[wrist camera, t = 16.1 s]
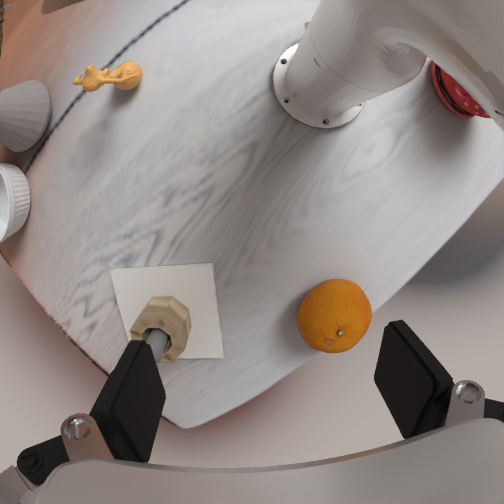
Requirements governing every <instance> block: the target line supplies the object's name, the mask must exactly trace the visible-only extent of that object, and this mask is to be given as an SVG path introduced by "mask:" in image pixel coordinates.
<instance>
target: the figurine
mask: <svg viewBox="0 0 504 504" xmlns="http://www.w3.org/2000/svg"><path fill="white" fill-rule="evenodd" d="M82 75H83V74H81V75H79V76H78V77H77V78H76V79H75V80H74V82H73V84H74V85H83V89H84V90H85V91H87V92H93V91H95V90H97V89H98V88H100V87H101V86H103V85H104V84H106V83H114V84H115V86H116V87H117V88H119V89H121V90H130V89H132V88H134V87H136V86H137V85H138V84H139V83H140V81H141V79H142V69H141V67H140V66H139V65H138V64H136V63H134V62H125V63H122V64H121V65H119V66H118V67H117V68H116V69H115V70H113V71H111V72H109V70H108V69H107V68H105V69H104V70H103V71H100V70H96V68H95V66H93V65H92V66H91V65H90V66H88V67H87V68H86V71H85V76H84V77H83V78H82V79H79V78H81V76H82Z"/></svg>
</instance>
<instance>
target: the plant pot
mask: <svg viewBox="0 0 504 504" xmlns="http://www.w3.org/2000/svg"><path fill="white" fill-rule="evenodd" d="M431 74H432V80H433V83H434V86H435V89H436V91H437V93H438V95H439V97H440V98H441V100H442V101H443V103H444V104H445V105H446V106H447V107H448V108H449V109H450V110H451V111H453V112H454V113H455V114H457V115H459V116H461V117H465V118H471V117H473V116H475V115H477V116H480V117H485V118H491V117H490V116H489V115H488V114H487V112H486V111H485V110H484V109H483V108H482V107H481V106H480V105H479V103H478V102H477V101H476V100H475V99H474V98H473V97H472V96H471V95H470V94H469V93H468V92H467V91H466V90H465V89H464V88H463V87H462V86H461V85H460V84H459V83H458V82H457V81H456V80H455V79H454V78H453V77H452V76H451V75H449V74H447V73H446V72H445V71H444V70H443V69H442V68H441V67H439V66H438V65H437V64H436V63H435V62H433V61H432V65H431Z"/></svg>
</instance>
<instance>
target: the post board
mask: <svg viewBox="0 0 504 504" xmlns="http://www.w3.org/2000/svg"><path fill="white" fill-rule="evenodd" d="M110 274H111V278H112V283H113V287H114V291H115V295H116V299H117V303H118V307H119V310H120V314H121V318H122V321H123V325H124V328H125V331H126V335H127V338H128V341H129V342H130V340H132V338H131V335H130V329H131V327H132V326H133V324H134V322H135V321H136V319H137V318H138V316H139V314H140V313H141V311H142V310H143V308H144V307H145V306H146V305H147V303H148V302H149V301H150V300H151V298H152V297H153V296H173V297H175V298H176V299H177V300H178V301H180V302H181V303H182V304H183V305H185V306H186V307H187V308H189V313H190V319H191V325H192V327H191V330H190V333H189V337H188V340H187V344H186V347H185V351H184V352H183V353H182V354H180V355H179V356H178V357H177V358H178V359H193V358H224V346H223V339H222V331H221V324H220V316H219V308H218V300H217V291H216V283H215V274H214V265H213V263H203V264H186V265H169V266H152V267H134V268H116V269H113V270H112V271H111V272H110ZM168 337H169V335H168V334H167V333H166V332H164V331H163V330H162V329H160V328H153V329H152V331H151V333H150V335H149V337H148V339H147V341H146V343H147V344H150V345H151V348H152V352H153V355H154V359H155V362H158V361H159V360H160V358H161V356H162V353H163V350H164V348H165V345H166V343H167V340H168Z"/></svg>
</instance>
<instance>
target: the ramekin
mask: <svg viewBox="0 0 504 504" xmlns="http://www.w3.org/2000/svg"><path fill="white" fill-rule="evenodd" d="M30 202H31V195H30V188H29V184H28V181H27V179H26V177H25V175H24V173H23V172H22V170H20V169H19V168H18V167H17V166H15V165H13V164H8V163H0V243H2V242H3V241H4V240H5V239H6V238H8V237H9V236H11V235H12V234H14V233H15V232H17V231H18V230H19V229H20V228H21V227H22V226H23V225H24V223H25V221H26V219H27V217H28V214H29V210H30Z"/></svg>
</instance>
